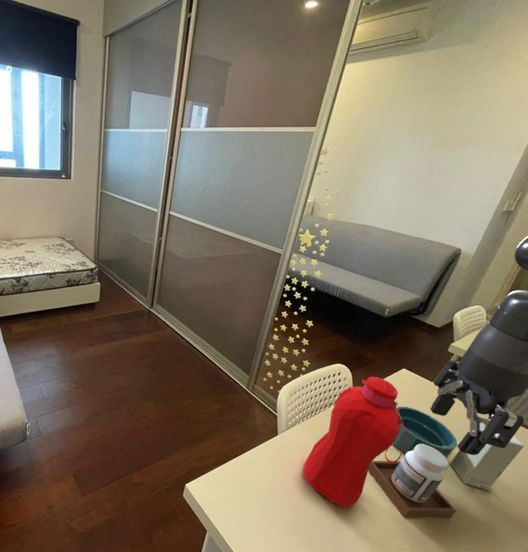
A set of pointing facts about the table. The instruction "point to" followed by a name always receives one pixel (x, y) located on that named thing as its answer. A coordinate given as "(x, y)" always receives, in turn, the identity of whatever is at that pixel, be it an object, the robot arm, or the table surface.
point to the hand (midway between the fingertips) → (450, 431)
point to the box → (485, 463)
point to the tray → (429, 509)
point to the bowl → (423, 432)
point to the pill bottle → (419, 473)
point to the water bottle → (354, 440)
